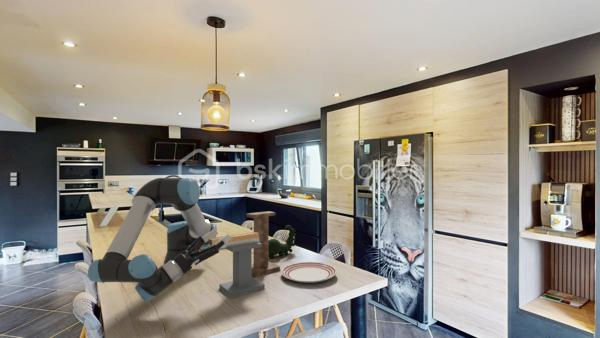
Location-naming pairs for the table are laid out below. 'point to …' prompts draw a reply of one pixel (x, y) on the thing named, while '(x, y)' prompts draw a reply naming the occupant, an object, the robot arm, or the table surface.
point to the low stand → (242, 272)
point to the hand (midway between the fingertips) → (222, 233)
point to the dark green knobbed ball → (280, 248)
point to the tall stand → (261, 253)
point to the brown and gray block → (237, 239)
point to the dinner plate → (308, 272)
